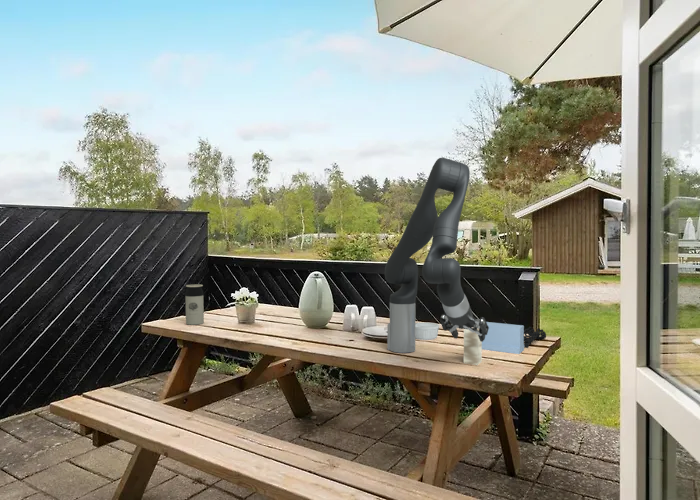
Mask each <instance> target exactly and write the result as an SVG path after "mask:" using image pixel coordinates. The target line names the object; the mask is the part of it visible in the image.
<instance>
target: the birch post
mask: <svg viewBox="0 0 700 500" xmlns="http://www.w3.org/2000/svg"><path fill="white" fill-rule="evenodd" d="M477 330H478V331H479V329H478V328H477ZM482 352H483V349H482V342H481V341H480V339H479V337H478V334H476V333H475V332H474V333H473V332H471V331H470V330H467V329H463V364H466V365H473V366H479V365H480V364H481V363H482V360H483V359H482V358H483V357H482V355H483V354H482Z"/></svg>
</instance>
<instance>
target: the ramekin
mask: <svg viewBox="0 0 700 500" xmlns="http://www.w3.org/2000/svg"><path fill="white" fill-rule="evenodd" d="M439 329H440V324H438V323H435V322H428V321H427V322H415V340H416V339H417V340H421V341H432V340H436V339H437V338H438V333H439Z"/></svg>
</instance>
